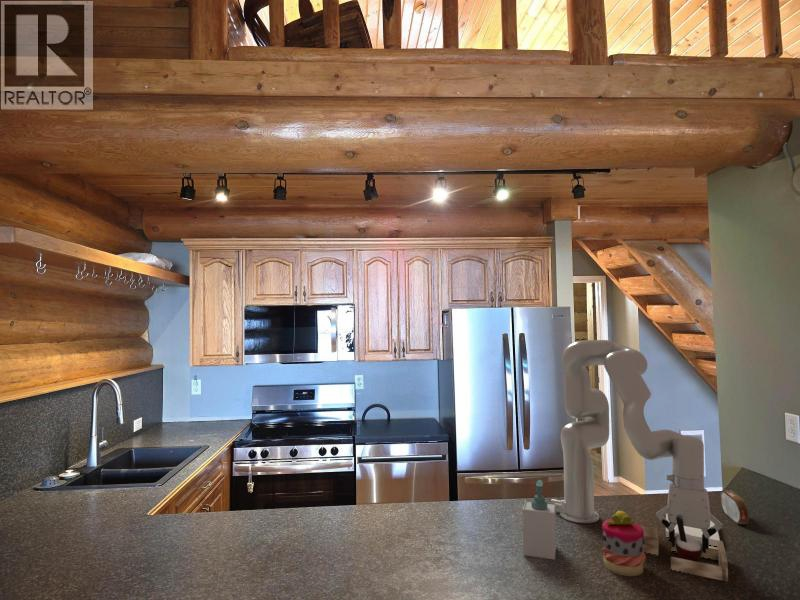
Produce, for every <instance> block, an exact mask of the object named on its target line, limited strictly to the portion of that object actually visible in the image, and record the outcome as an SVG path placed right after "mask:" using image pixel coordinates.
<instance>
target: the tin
mask: <svg viewBox="0 0 800 600" xmlns="http://www.w3.org/2000/svg"><path fill="white" fill-rule="evenodd" d="M720 500H721V507H722V510H723V513H724V514H725V515H726V516H727V517H729V519H731V520H732V521H733V522H734V523H735V524H737V525H745V526H747V525H748V524H749V519H750V517H749V516H750V515H749V511H748V506H747V504H746V502H745V500H744V499H743V498H742V497H741V496H740V495H738V494H737V493H735V492H734V491H733V490H732V489H730V490H725V489H724V490H721V492H720Z"/></svg>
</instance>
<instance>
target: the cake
mask: <svg viewBox="0 0 800 600" xmlns="http://www.w3.org/2000/svg"><path fill="white" fill-rule="evenodd" d="M601 526H602V527H601V529H602V532H601V533H602V534H601V535H602V540H603V541H602V543H603V548H601V551H602V552H603V566H604V567H605V568H606V570H608V571H610V572H612V573H613V574H616V575H621V576H625V577H636V576H637V577H638V576H640V575H642V574H643V573H644V563H645V561H646V557H647V556H646V553H644V551H643V544H644V540H643V539H644V531H643V528H642V527H641V526H642V525H639V523H637V522H635V520H634V519H632V517H631V516H630V515H627V513H626V512H625V511H623V510H617V511H616V512H615V514H613V515H612V516H611V518H609V519H606V520H604V521H603V522H602V525H601Z"/></svg>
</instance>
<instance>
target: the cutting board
mask: <svg viewBox="0 0 800 600" xmlns="http://www.w3.org/2000/svg"><path fill="white" fill-rule="evenodd" d="M665 519H666V520H667V521H668V522H669V520H668V517H667V513H666V514H665ZM714 525H715V524H714V523H713V522H712V521H711V520H710V527H709V528H711V527H713V526H714ZM709 528H708V529H709ZM674 529H675V536H677V535H678V534H679V530H678V525H677V524H676V526H675V527H674ZM684 531H685V533H686V534H688V535H691V536H692V537H694V538H696V539H698V540H699V541H700V543H701V545H702V535H703V532H702V530H701V529H699V528H693V527H687V526H684ZM666 537H669V531H668V529H667V528H666V527H665V538H666ZM718 541H721V540H720V534H719V530H718V531H717V532H716V533H715V534H713V535H712V536H711V537H710V538H709V545H711V547H714V546H717V548H718Z"/></svg>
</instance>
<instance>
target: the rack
mask: <svg viewBox="0 0 800 600" xmlns="http://www.w3.org/2000/svg"><path fill="white" fill-rule="evenodd" d="M672 551H676V552H675V553H677V550H676V542H675V546H674V547H672V542H670V552H672ZM703 557H704V558H703ZM700 558H703V559H708V558H710V560H715V561H717V562H718V565H717V564H710V563H704V562H701V561H691V560H686V559H682V558H680V557H675V556H670V570H671V569H672V570H671V571H674V570H676V571H675V572H679V571H681V572H680V573H684V572H685V573H684V574H688V573H689V575H693V574H694V576H699V577H703V578H709V579H714V580H717V581H724V582H729V569H728V568H729V566H728V565H729V563H728V558H727V553H726V548H725V546H724V541H723V540H720V541H718V547H714V546H709V549H706V553H703V551H702V554H701V557H700Z"/></svg>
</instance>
